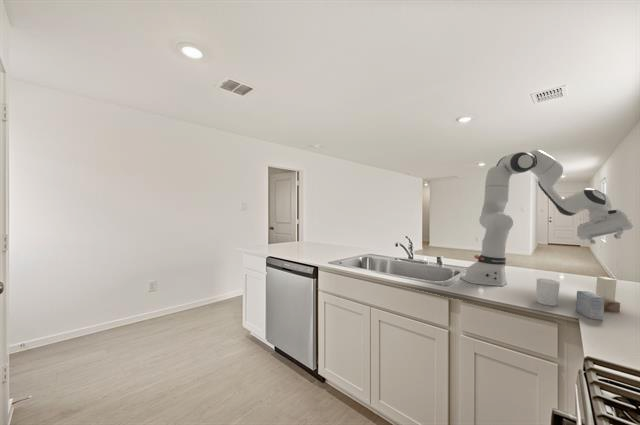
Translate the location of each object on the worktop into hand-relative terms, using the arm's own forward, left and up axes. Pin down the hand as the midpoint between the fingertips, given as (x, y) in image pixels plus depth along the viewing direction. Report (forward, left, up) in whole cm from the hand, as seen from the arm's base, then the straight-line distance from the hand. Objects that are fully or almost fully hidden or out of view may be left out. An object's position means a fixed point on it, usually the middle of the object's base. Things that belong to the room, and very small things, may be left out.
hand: (604, 240), depth 132 cm
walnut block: (-17, -16, -27) cm, 36 cm away
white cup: (-37, -14, -27) cm, 48 cm away
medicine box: (-30, -26, -27) cm, 48 cm away
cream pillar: (-4, -6, -27) cm, 28 cm away
